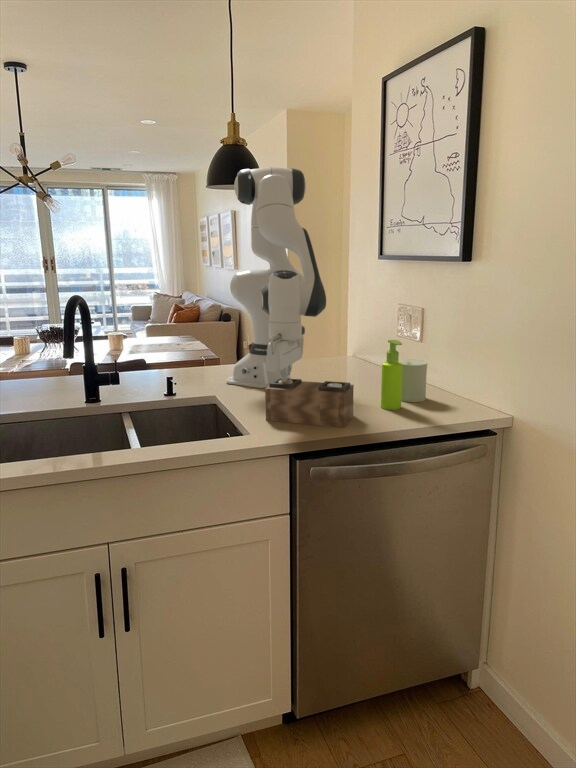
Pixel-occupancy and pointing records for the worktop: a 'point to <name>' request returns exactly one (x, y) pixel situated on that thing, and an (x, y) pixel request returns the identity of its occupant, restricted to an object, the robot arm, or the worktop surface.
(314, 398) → the walnut block
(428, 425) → the worktop surface
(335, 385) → the steel peg
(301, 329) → the robot arm
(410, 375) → the can
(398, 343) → the soap dispenser
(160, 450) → the worktop surface
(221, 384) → the worktop surface
